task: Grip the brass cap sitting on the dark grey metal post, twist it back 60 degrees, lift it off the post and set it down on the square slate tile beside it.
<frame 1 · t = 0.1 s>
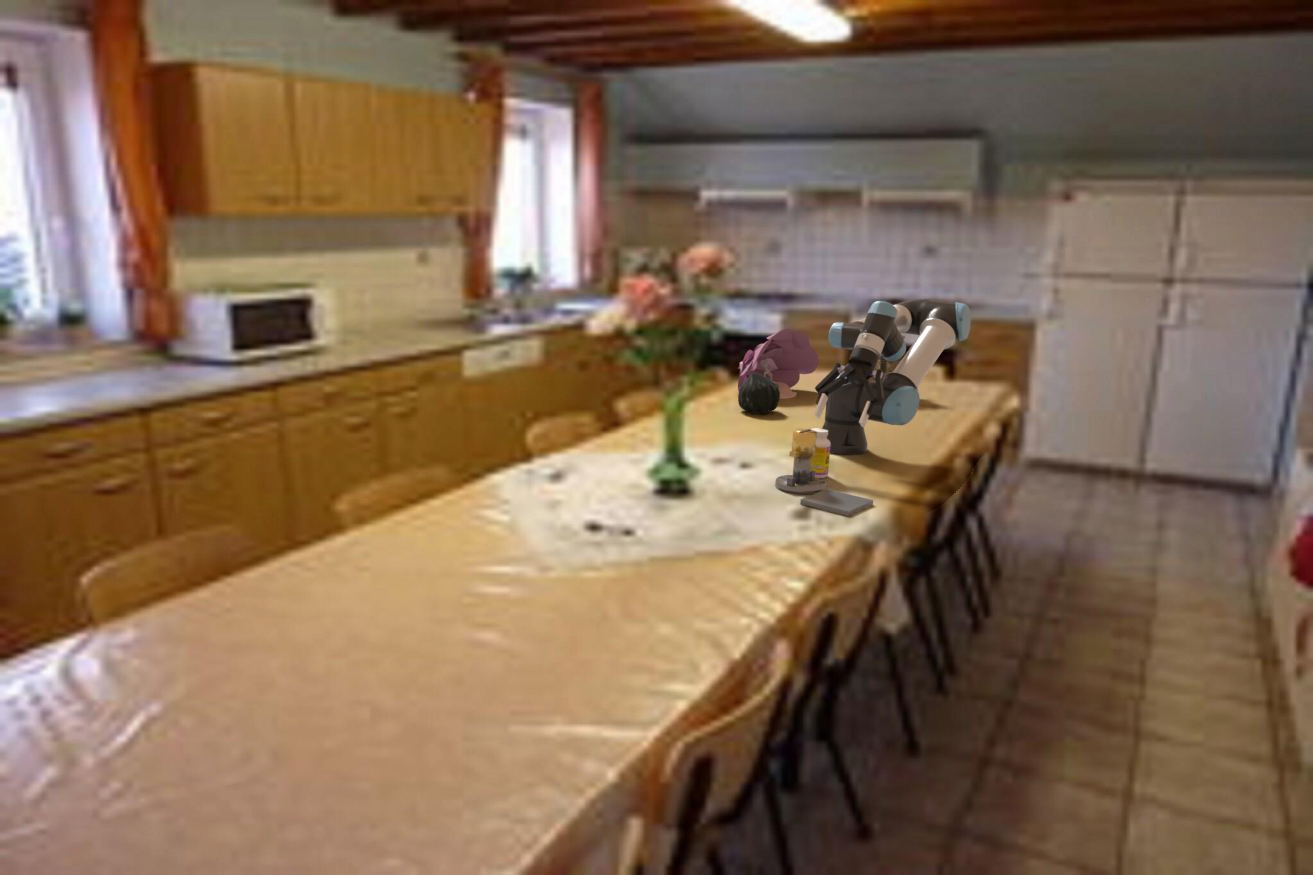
hand: (838, 420, 255), 15 cm above the table, tool tilted 35°, fingers open, 13 cm apart
tile: (836, 504, 233), on the table
decorative pitcher: (884, 397, 375), on the table
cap: (803, 454, 244), point 9 cm above the table, touching post
squash: (758, 412, 336), on the table
supplement bottle: (815, 476, 258), on the table
flower arrangement: (771, 394, 372), on the table
post: (800, 487, 246), on the table
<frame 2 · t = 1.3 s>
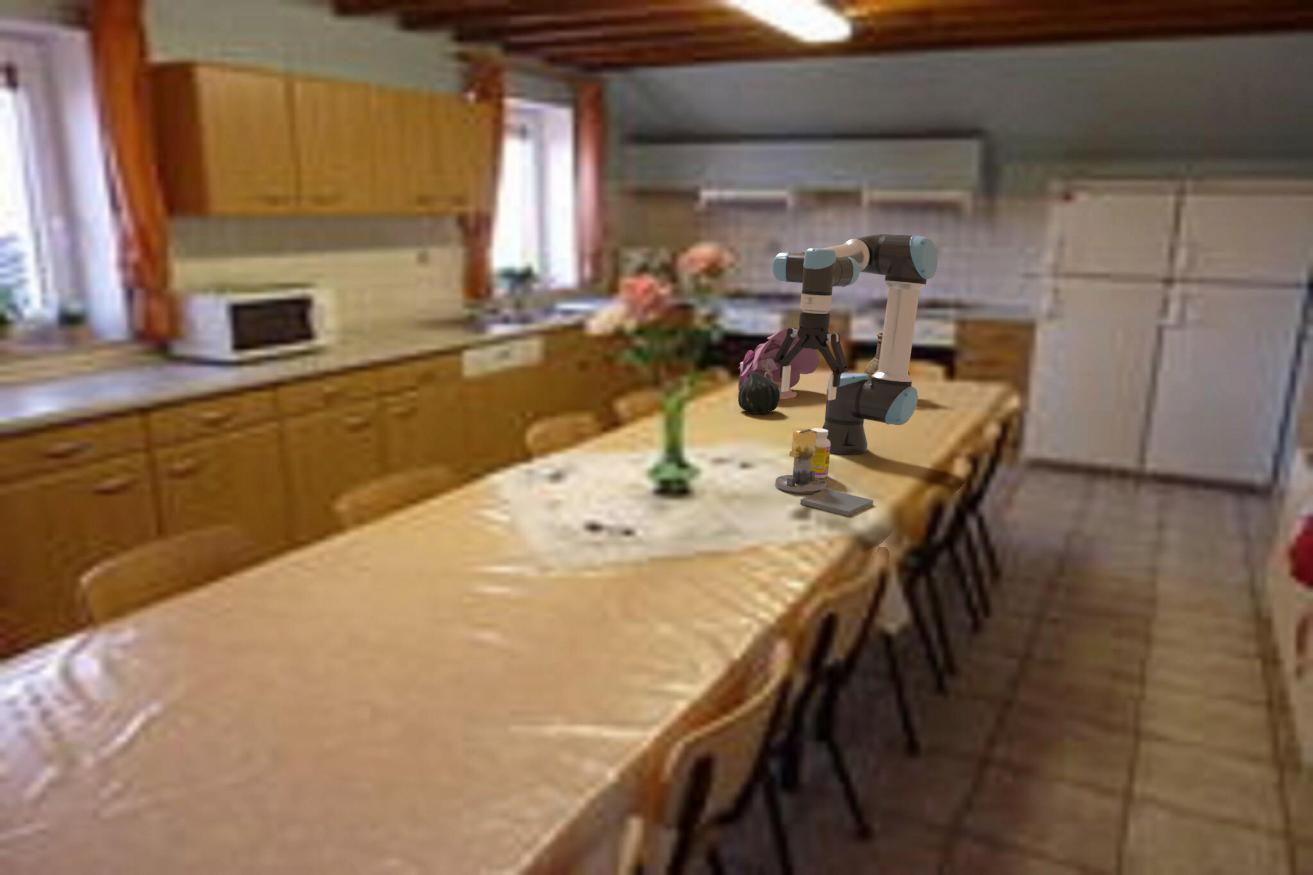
hand: (807, 395, 240), 24 cm above the table, tool pointing down, fingers open, 13 cm apart
nothing on the table moved.
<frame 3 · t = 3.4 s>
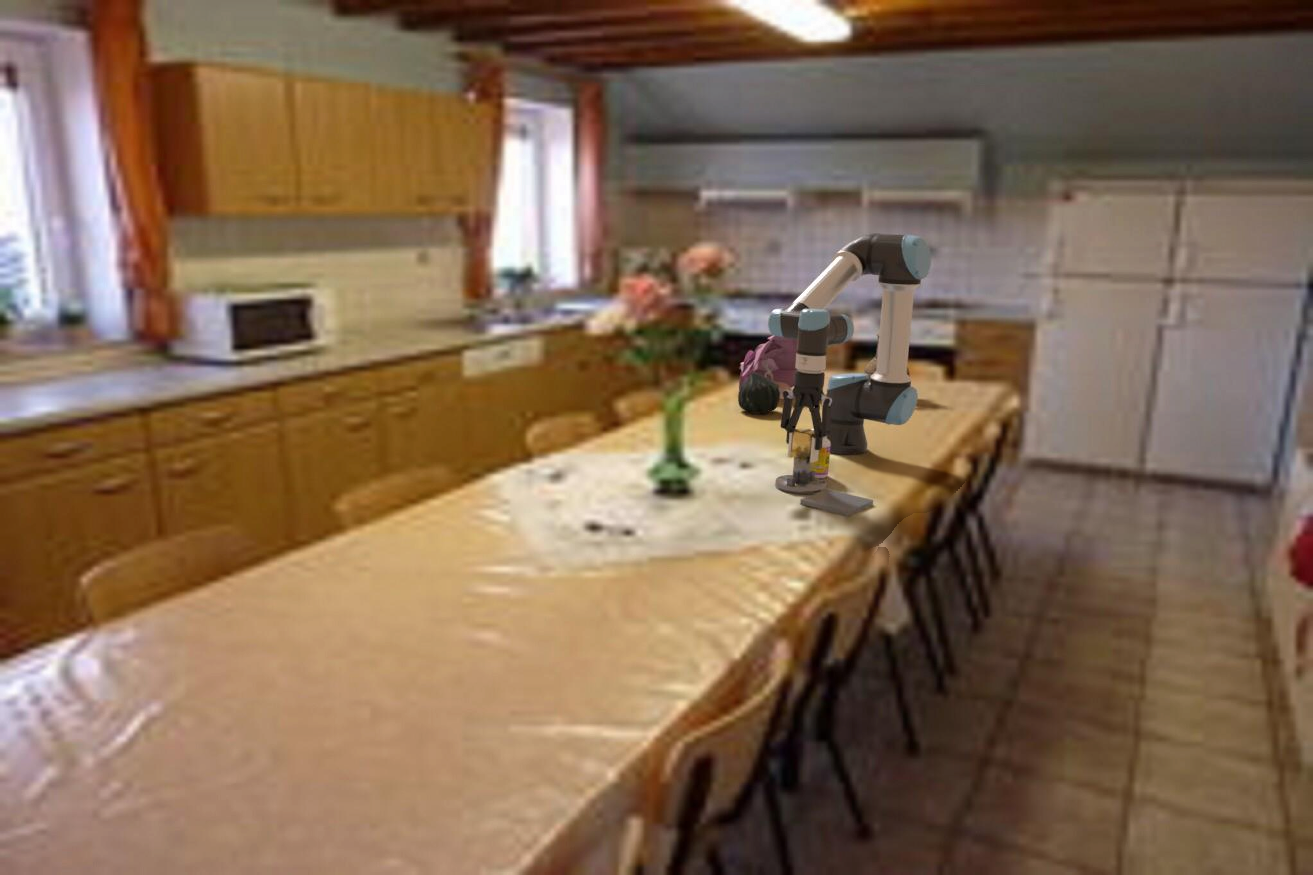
hand: (802, 458, 244), 8 cm above the table, tool pointing down, fingers closed on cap, 6 cm apart
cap: (803, 454, 244), point 9 cm above the table, touching gripper, post
everything else where it was.
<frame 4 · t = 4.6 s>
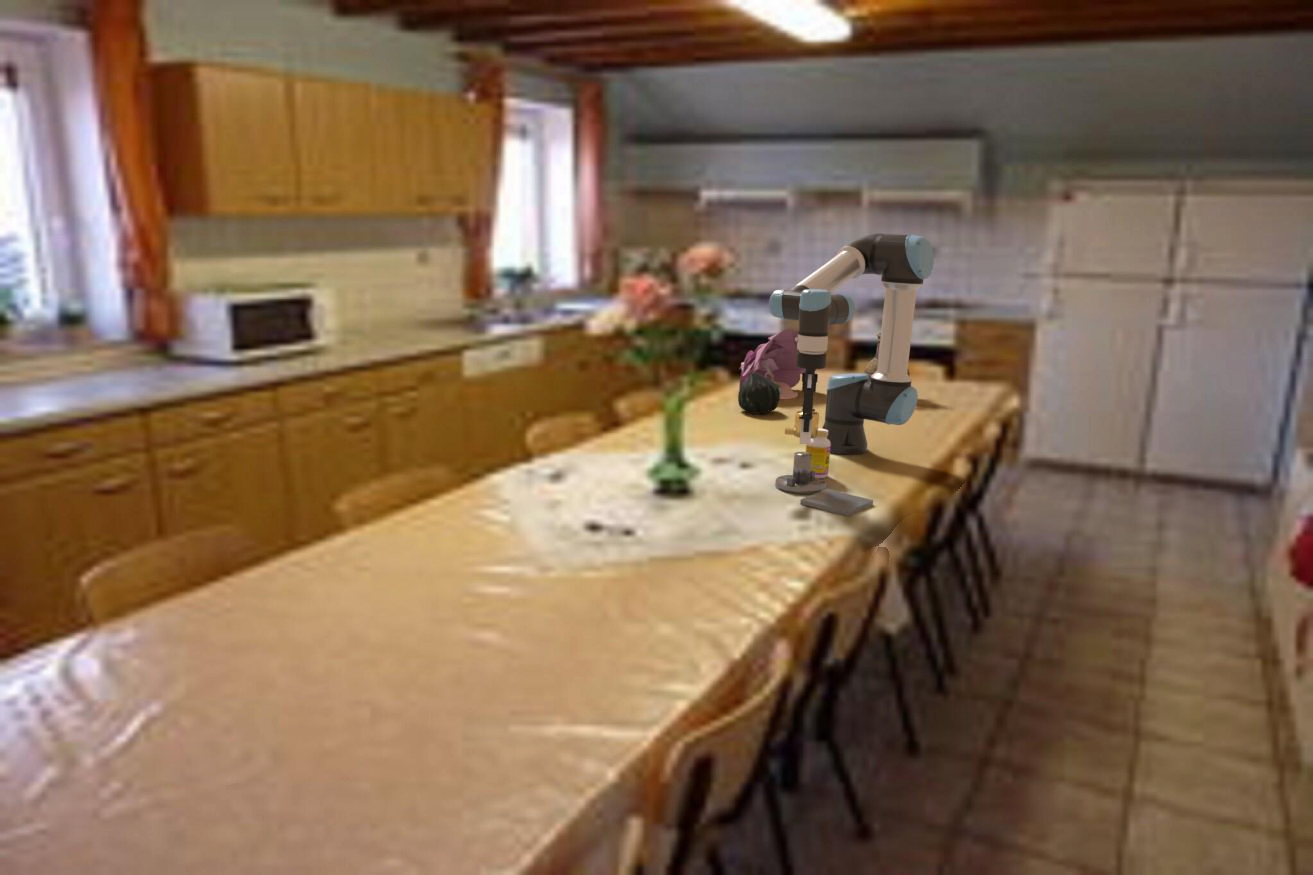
hand: (805, 440, 243), 13 cm above the table, tool pointing down, fingers closed on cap, 6 cm apart
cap: (805, 435, 243), point 14 cm above the table, touching gripper
everything else where it was.
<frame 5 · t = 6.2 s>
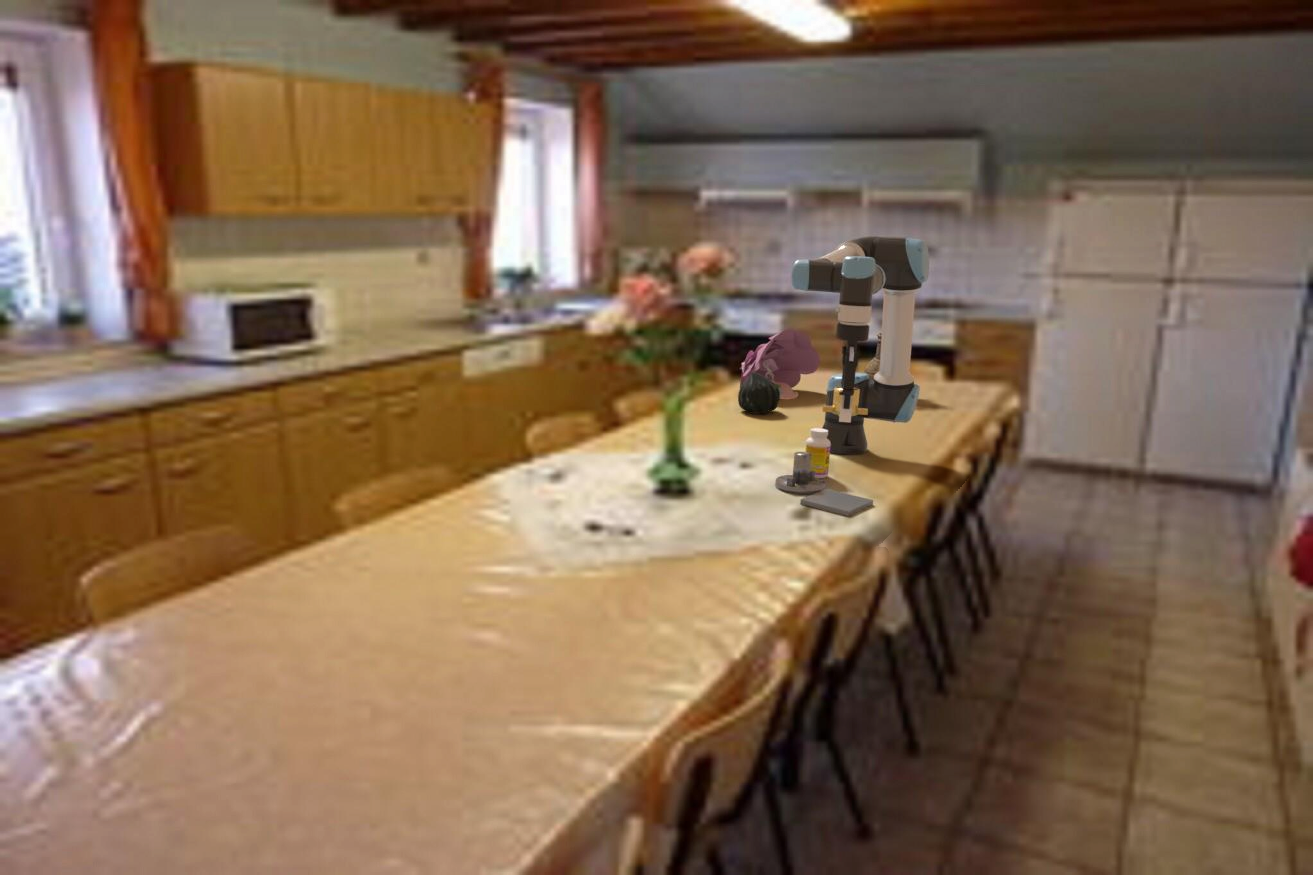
hand: (844, 418, 228), 22 cm above the table, tool pointing down, fingers closed on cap, 6 cm apart
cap: (844, 413, 227), point 23 cm above the table, touching gripper
everything else where it was.
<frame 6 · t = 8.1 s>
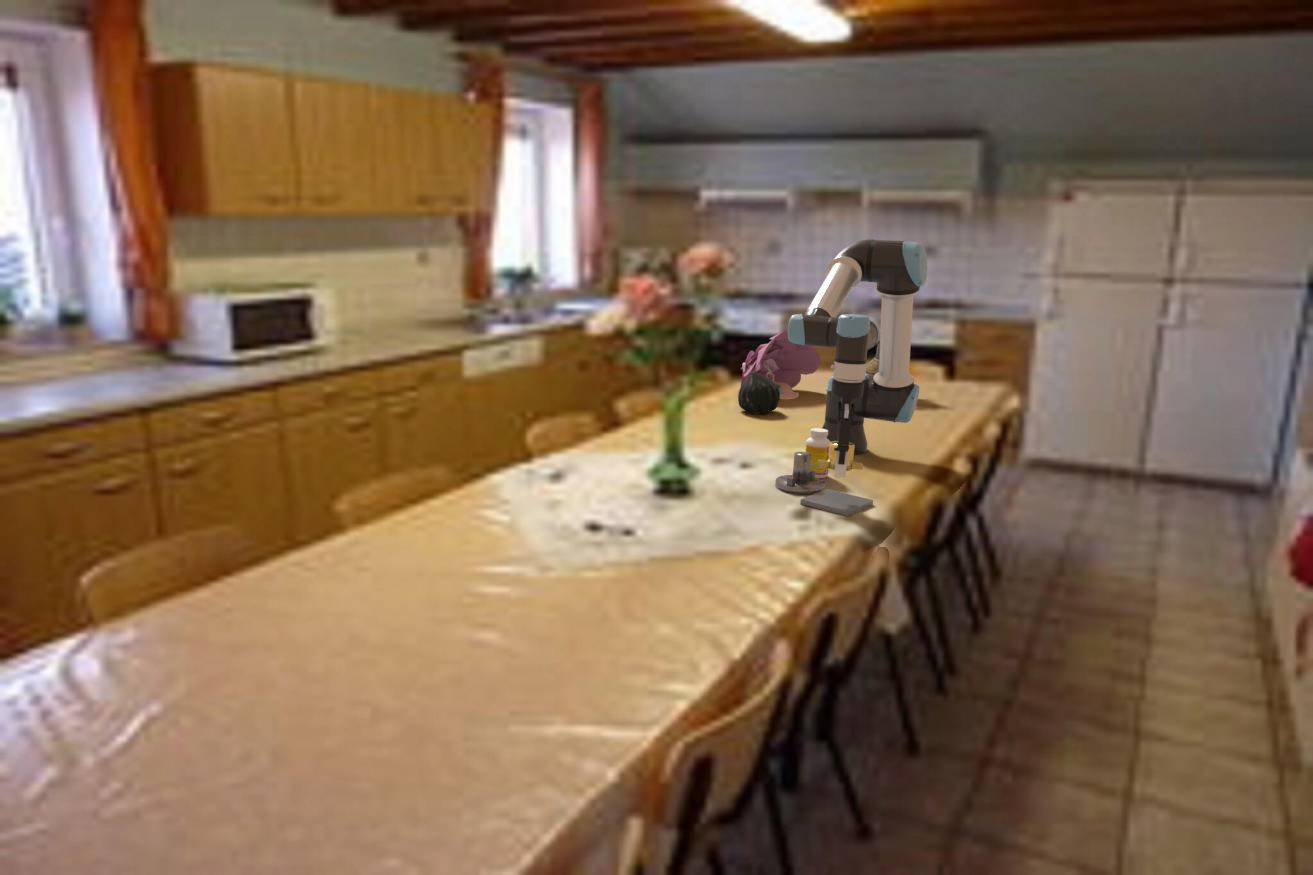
hand: (839, 472, 231), 8 cm above the table, tool pointing down, fingers closed on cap, 6 cm apart
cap: (839, 467, 230), point 9 cm above the table, touching gripper
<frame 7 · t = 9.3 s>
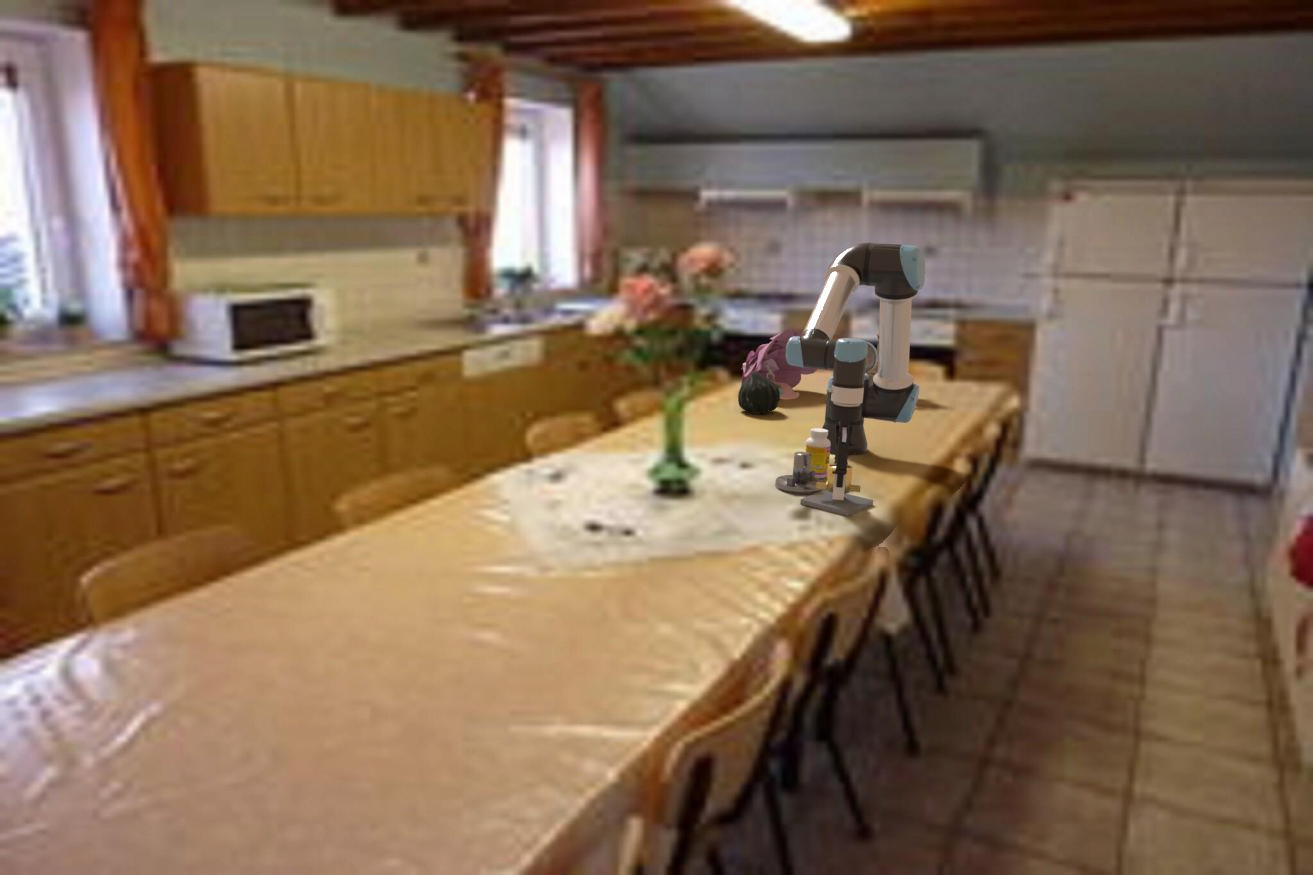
hand: (837, 495, 232), 2 cm above the table, tool pointing down, fingers closed on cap, 6 cm apart
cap: (837, 490, 232), point 4 cm above the table, touching gripper
when the fingers open (2 cm above the table, at t = 9.4 s): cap drops 2 cm, resting on tile.
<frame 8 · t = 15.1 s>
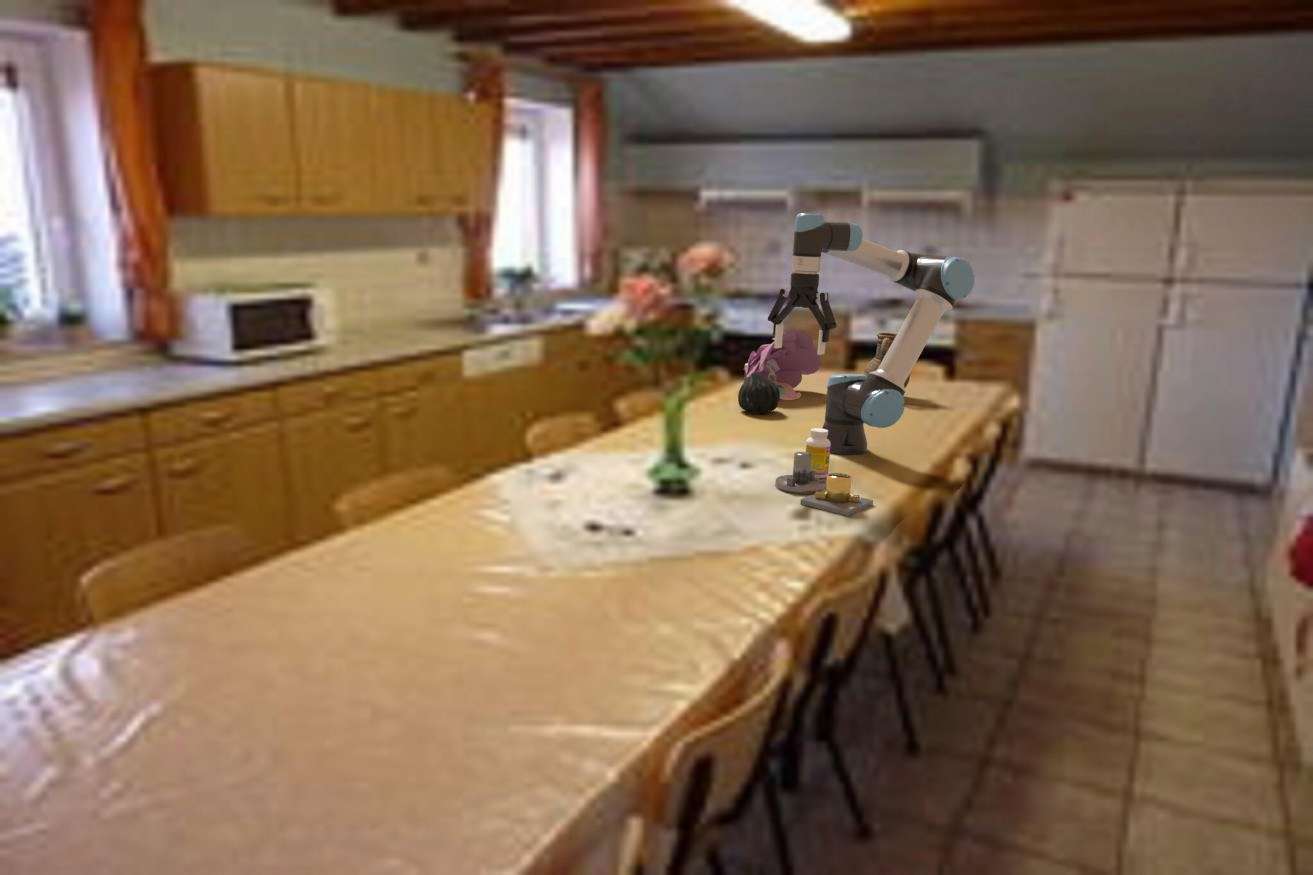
hand: (799, 351, 258), 33 cm above the table, tool pointing down, fingers open, 13 cm apart
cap: (836, 499, 232), point 1 cm above the table, touching tile
at the end: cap 0.1 cm from the tile (horizontally); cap point 1.2 cm above the table; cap tilted 0° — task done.
